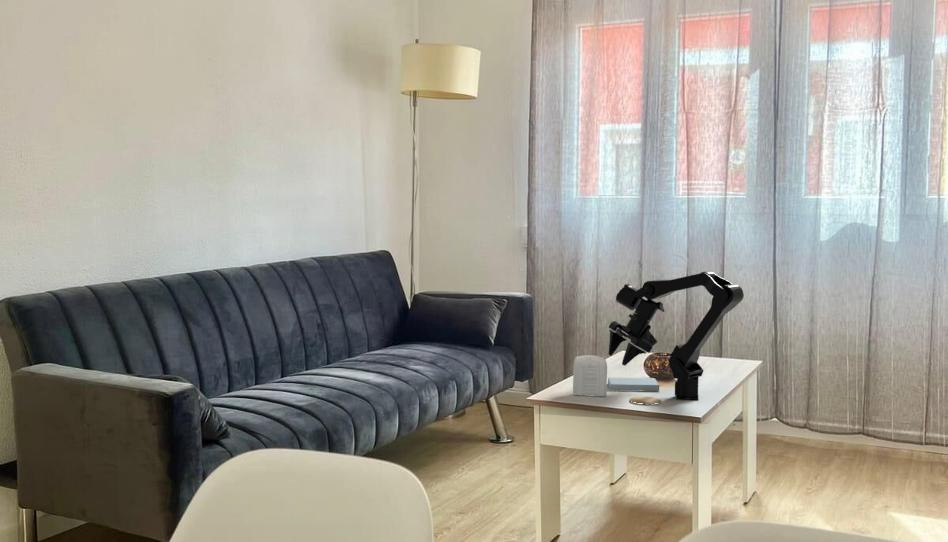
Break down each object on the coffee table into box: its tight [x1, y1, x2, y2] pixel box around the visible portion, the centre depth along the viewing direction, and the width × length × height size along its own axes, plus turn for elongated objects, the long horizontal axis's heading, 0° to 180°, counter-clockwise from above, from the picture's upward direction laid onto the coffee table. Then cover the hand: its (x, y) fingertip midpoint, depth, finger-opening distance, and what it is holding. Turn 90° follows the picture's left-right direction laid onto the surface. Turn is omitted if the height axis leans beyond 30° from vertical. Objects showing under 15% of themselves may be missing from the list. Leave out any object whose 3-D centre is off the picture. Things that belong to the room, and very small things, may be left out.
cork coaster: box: [629, 396, 662, 404], centre depth 273 cm, size 9×9×1 cm
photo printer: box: [572, 354, 608, 397], centre depth 281 cm, size 10×4×12 cm, turn 79°
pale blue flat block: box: [607, 376, 660, 392], centre depth 293 cm, size 15×11×2 cm
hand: (616, 360), depth 288 cm, fingers open, 9 cm apart
